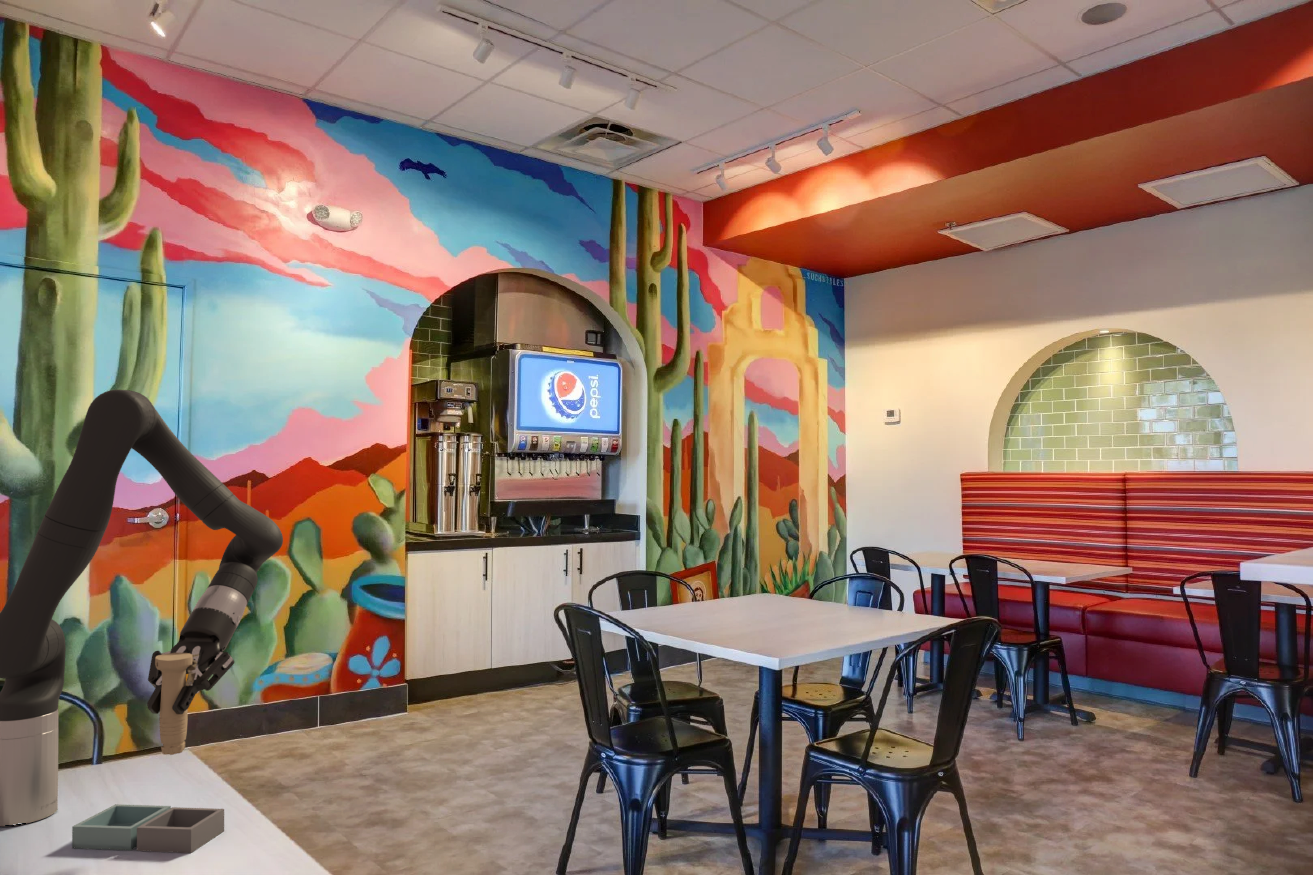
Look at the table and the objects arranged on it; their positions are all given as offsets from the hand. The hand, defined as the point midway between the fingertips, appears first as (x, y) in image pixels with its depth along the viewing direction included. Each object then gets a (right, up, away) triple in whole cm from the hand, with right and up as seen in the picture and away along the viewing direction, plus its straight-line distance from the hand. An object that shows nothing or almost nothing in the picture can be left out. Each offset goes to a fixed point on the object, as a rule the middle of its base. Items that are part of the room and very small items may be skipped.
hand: (164, 711), depth 134 cm
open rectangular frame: (+2, -21, +1) cm, 21 cm away
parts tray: (-8, -21, +3) cm, 23 cm away
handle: (0, -7, +2) cm, 7 cm away
